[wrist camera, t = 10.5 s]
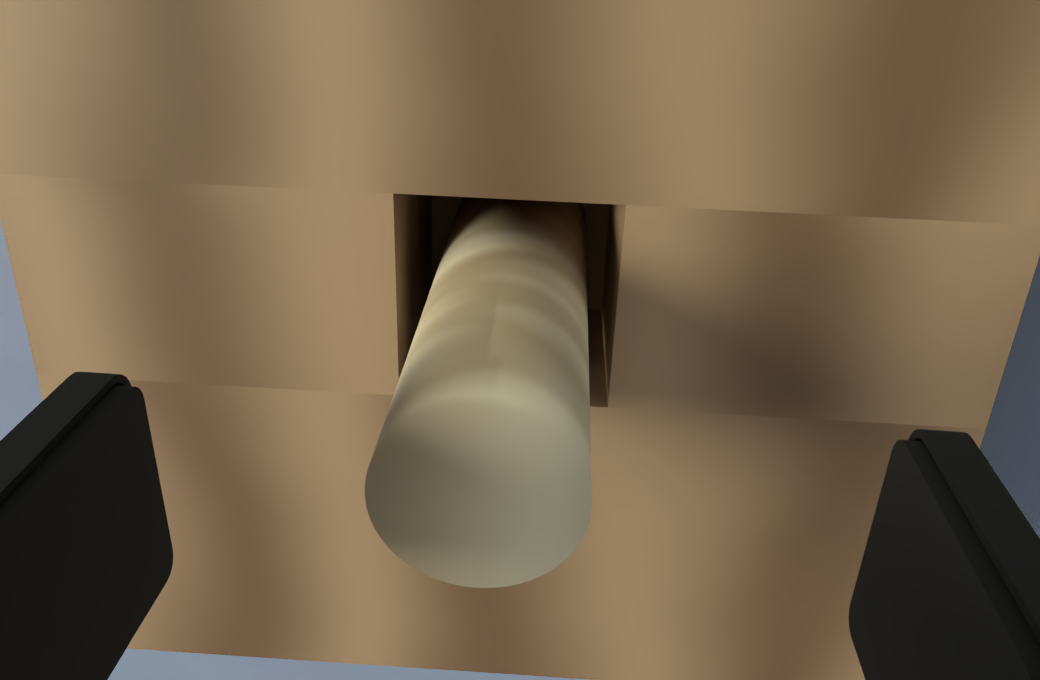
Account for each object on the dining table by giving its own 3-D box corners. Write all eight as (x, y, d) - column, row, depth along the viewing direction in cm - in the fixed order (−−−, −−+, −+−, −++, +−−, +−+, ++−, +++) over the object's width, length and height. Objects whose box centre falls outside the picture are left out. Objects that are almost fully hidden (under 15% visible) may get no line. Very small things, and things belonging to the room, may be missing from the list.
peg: (589, 165, 21) (599, 411, 12) (581, 287, 23) (584, 594, 13) (457, 159, 22) (357, 398, 12) (457, 280, 23) (369, 581, 13)
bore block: (1021, -229, 18) (1206, -283, 13) (837, 542, 27) (901, 700, 22) (71, -260, 19) (-126, -324, 14) (191, 503, 28) (100, 646, 23)
